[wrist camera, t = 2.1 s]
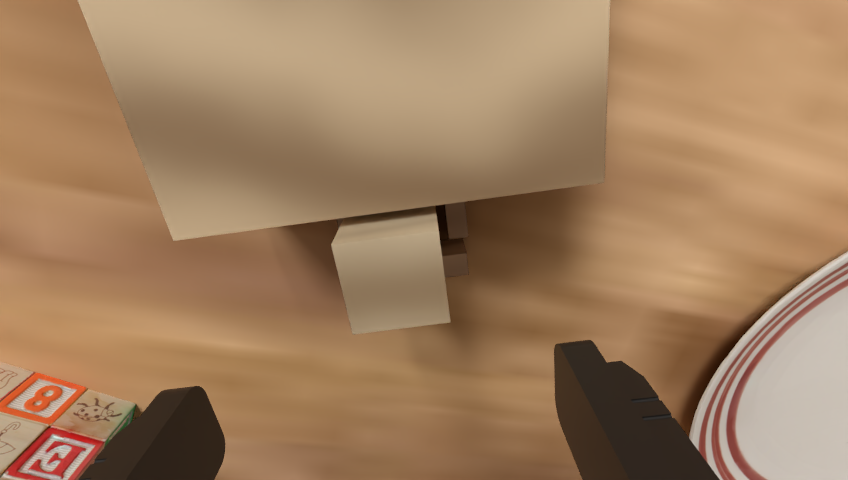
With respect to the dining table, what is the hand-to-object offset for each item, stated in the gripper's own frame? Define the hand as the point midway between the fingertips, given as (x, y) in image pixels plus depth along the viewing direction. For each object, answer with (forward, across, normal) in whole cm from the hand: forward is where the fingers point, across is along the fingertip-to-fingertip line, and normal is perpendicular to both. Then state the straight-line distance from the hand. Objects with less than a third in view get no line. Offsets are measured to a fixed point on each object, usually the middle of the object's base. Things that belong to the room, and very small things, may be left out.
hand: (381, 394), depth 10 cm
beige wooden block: (+14, 0, 0) cm, 14 cm away
